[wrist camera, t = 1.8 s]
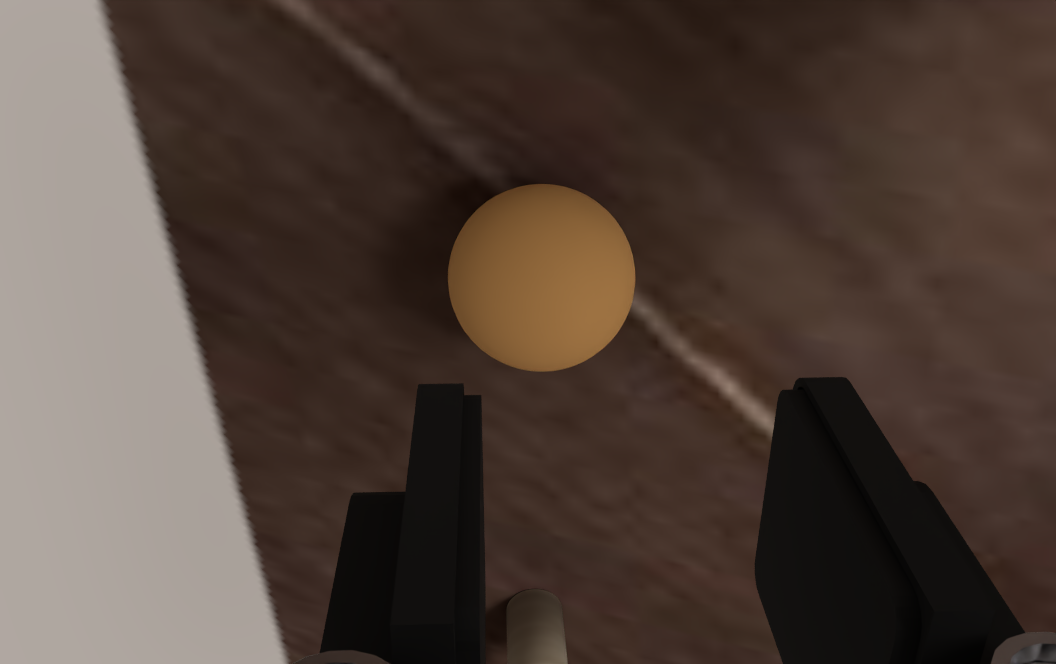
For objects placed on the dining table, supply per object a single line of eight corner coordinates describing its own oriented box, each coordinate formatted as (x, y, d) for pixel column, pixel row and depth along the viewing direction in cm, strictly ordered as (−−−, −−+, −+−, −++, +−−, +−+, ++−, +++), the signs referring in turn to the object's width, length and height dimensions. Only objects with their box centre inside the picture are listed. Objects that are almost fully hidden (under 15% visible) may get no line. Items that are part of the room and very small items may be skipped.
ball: (447, 159, 33) (440, 226, 28) (627, 157, 33) (654, 223, 28) (453, 320, 36) (448, 409, 30) (619, 317, 36) (642, 405, 31)
